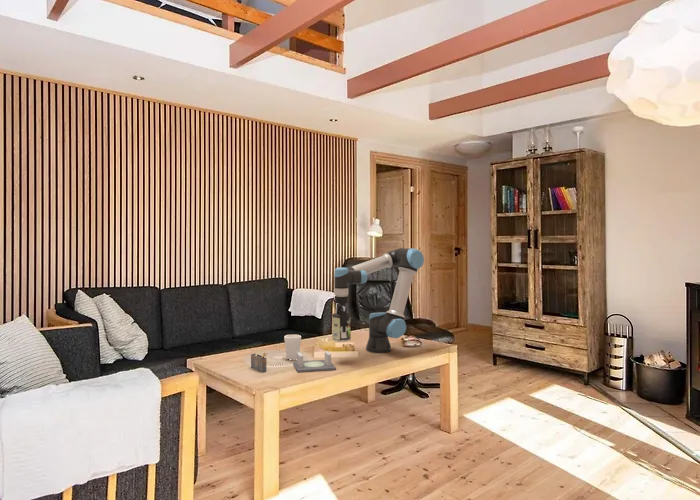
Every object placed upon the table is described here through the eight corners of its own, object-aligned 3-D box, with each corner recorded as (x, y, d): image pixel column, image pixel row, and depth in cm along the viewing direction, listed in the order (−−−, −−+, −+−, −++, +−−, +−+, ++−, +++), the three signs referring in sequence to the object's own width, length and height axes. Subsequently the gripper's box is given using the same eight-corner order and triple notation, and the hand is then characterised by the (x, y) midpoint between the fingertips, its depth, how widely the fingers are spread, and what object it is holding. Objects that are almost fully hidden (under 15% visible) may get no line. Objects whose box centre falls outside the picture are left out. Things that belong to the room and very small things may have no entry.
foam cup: (286, 356, 277) (286, 334, 276) (302, 357, 276) (302, 334, 275) (282, 361, 267) (282, 337, 267) (298, 361, 266) (299, 338, 266)
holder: (329, 361, 266) (329, 348, 266) (335, 370, 250) (335, 356, 250) (293, 363, 262) (293, 350, 261) (297, 372, 245) (297, 358, 245)
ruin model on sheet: (267, 372, 247) (267, 353, 247) (262, 373, 245) (262, 354, 245) (256, 367, 255) (256, 349, 255) (251, 368, 253) (251, 350, 253)
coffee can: (352, 338, 269) (352, 313, 268) (348, 342, 259) (348, 316, 258) (334, 337, 271) (334, 312, 270) (330, 341, 261) (330, 315, 260)
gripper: (330, 293, 274) (330, 332, 275) (339, 298, 252) (339, 340, 253) (343, 293, 276) (343, 331, 276) (353, 298, 254) (353, 339, 255)
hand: (341, 335), depth 265 cm, fingers closed on coffee can, 10 cm apart
